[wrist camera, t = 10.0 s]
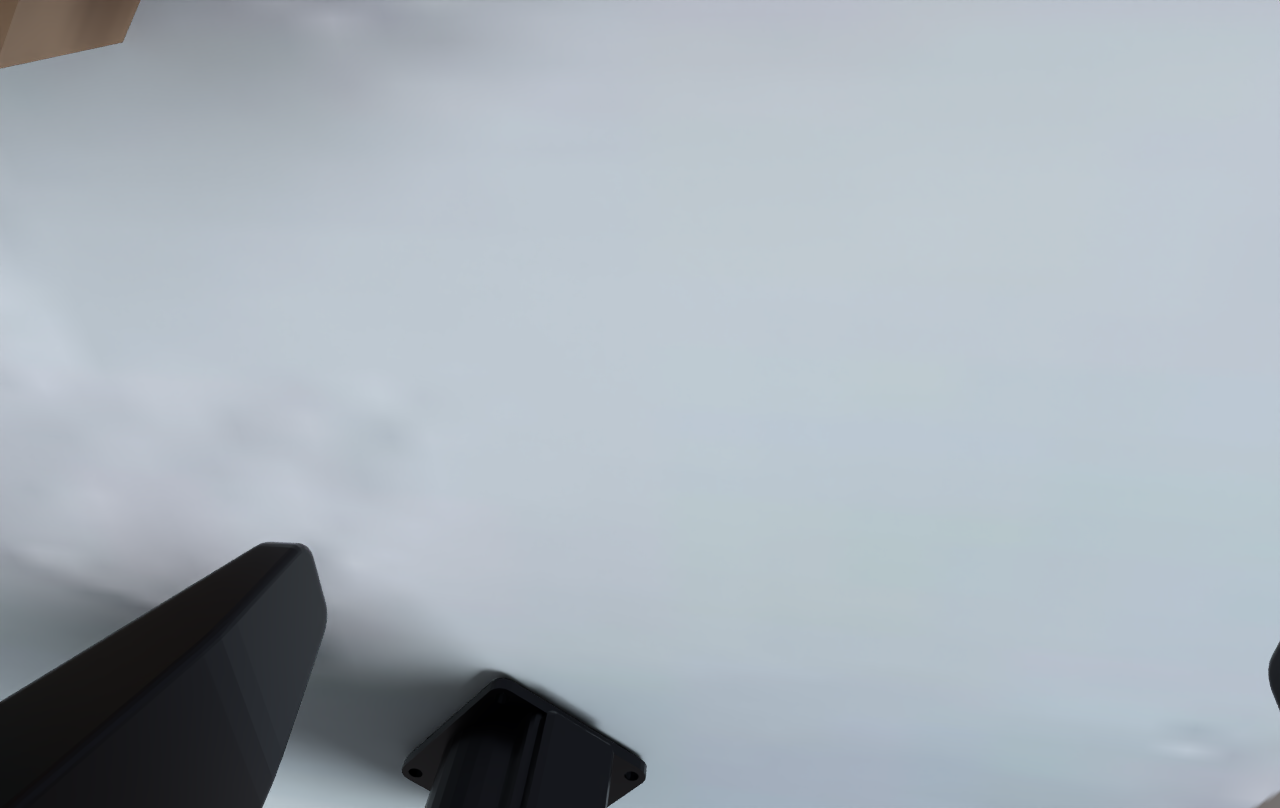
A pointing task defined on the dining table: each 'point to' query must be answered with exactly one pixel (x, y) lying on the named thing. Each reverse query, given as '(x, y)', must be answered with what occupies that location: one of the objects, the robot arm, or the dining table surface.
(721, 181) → the dining table surface
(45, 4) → the walnut base block
